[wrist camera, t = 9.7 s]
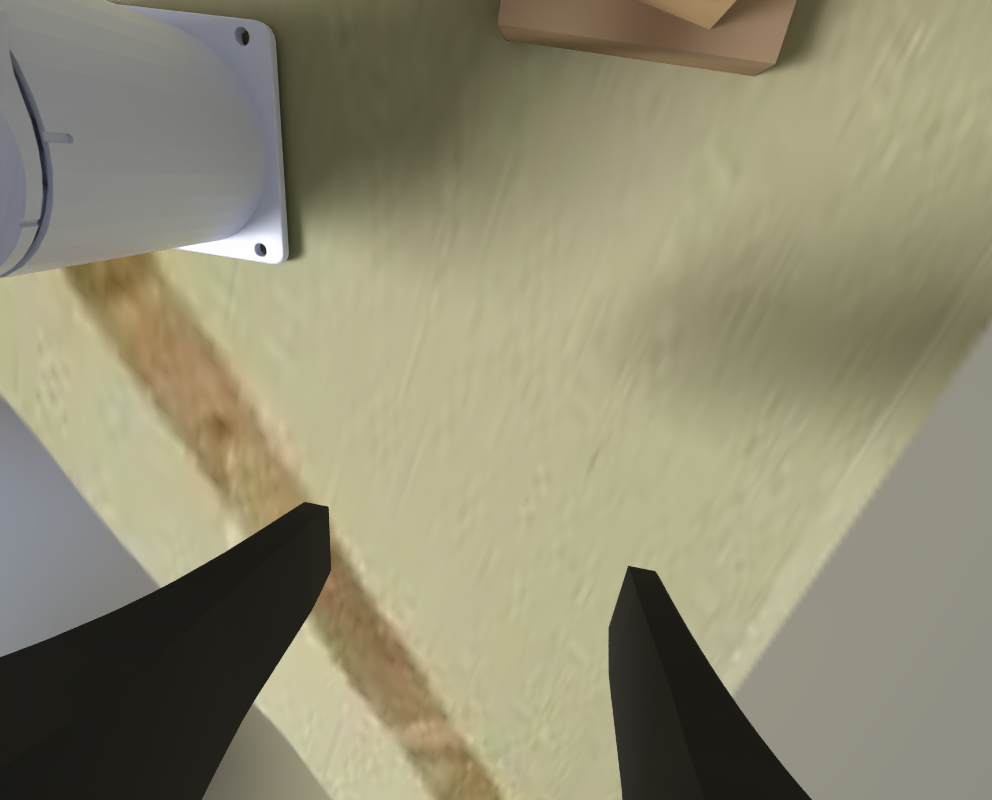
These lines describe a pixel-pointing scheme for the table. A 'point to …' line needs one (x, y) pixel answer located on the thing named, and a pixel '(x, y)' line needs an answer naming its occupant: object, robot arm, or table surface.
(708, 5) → the top block
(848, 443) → the table surface
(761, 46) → the base block
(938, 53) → the table surface
